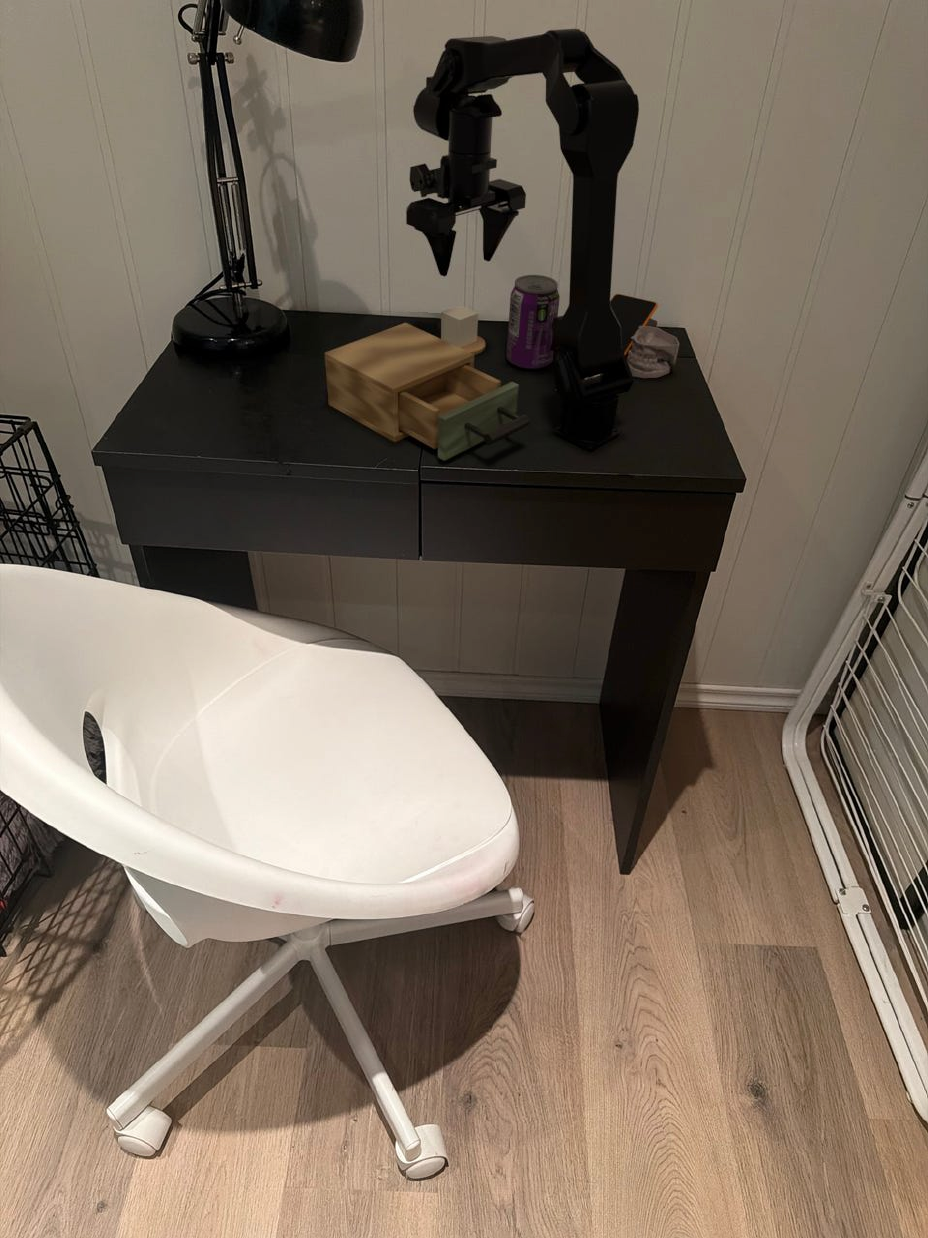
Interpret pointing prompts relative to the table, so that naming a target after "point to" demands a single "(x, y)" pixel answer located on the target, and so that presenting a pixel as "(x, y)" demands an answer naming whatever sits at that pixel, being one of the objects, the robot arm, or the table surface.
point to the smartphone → (631, 316)
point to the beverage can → (532, 321)
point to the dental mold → (652, 352)
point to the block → (459, 326)
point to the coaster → (475, 346)
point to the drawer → (459, 411)
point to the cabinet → (386, 373)
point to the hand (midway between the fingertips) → (465, 267)
